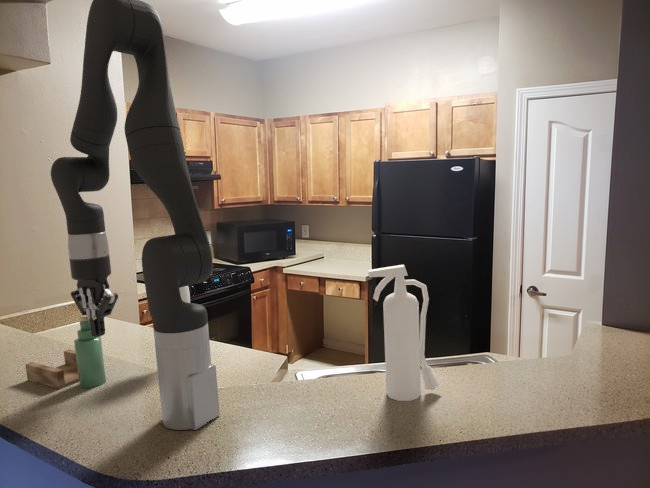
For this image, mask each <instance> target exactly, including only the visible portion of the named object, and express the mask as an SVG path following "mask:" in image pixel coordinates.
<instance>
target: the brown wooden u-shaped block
mask: <svg viewBox="0 0 650 488" xmlns="http://www.w3.org/2000/svg"><path fill="white" fill-rule="evenodd" d="M63 356H64V357H63V358H64V364H62V365H60V366H56V367H52V366H49V365H44V364H41V363H36V362H33V361H32V362H28V363H25V372H26V378H27V381H28V380H29V381H28V382H31V381H32V382H31V383H35V382H36V383H35V384H38V383H40V384H39V385H42V384H44V385H43V386H46V385H48V386H47V387H49V386H51V387H50V388H53V387H55V388H54V389H56V388H58V389H57V390H61V389H64V388H66V387H69V386H70V385H74V384H76V383H79V375H78V368H77V360H76V352H75V349H74V350H73V349H67V350H64V351H63ZM68 385H69V386H68ZM65 386H66V387H65ZM63 387H64V388H63ZM60 388H61V389H60Z"/></svg>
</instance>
